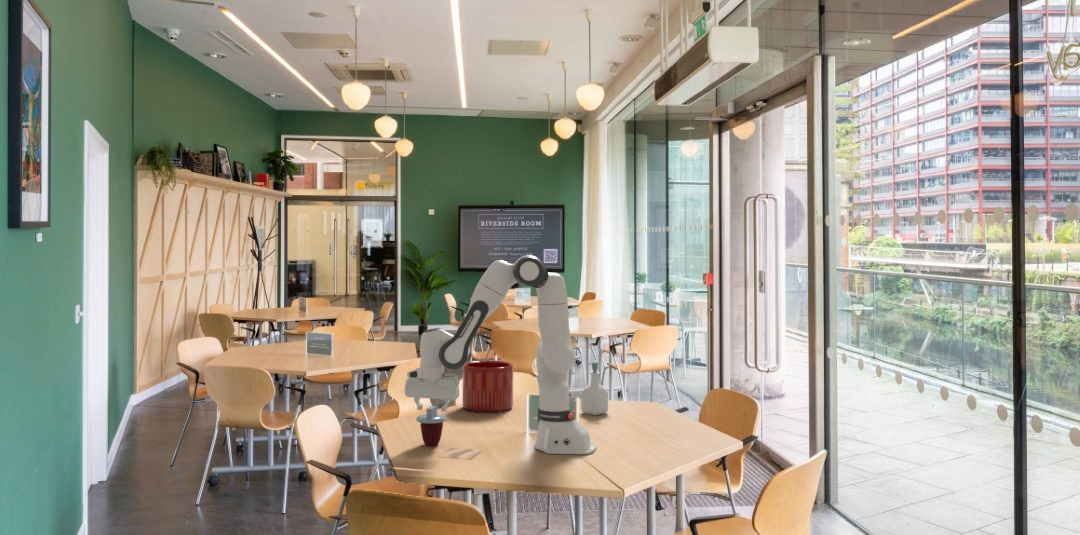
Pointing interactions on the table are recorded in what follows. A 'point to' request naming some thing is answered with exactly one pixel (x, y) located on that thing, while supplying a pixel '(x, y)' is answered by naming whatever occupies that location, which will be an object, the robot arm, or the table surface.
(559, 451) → the robot arm
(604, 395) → the soap bottle
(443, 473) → the table surface
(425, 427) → the mug
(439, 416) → the lid
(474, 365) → the planter
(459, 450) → the mat
